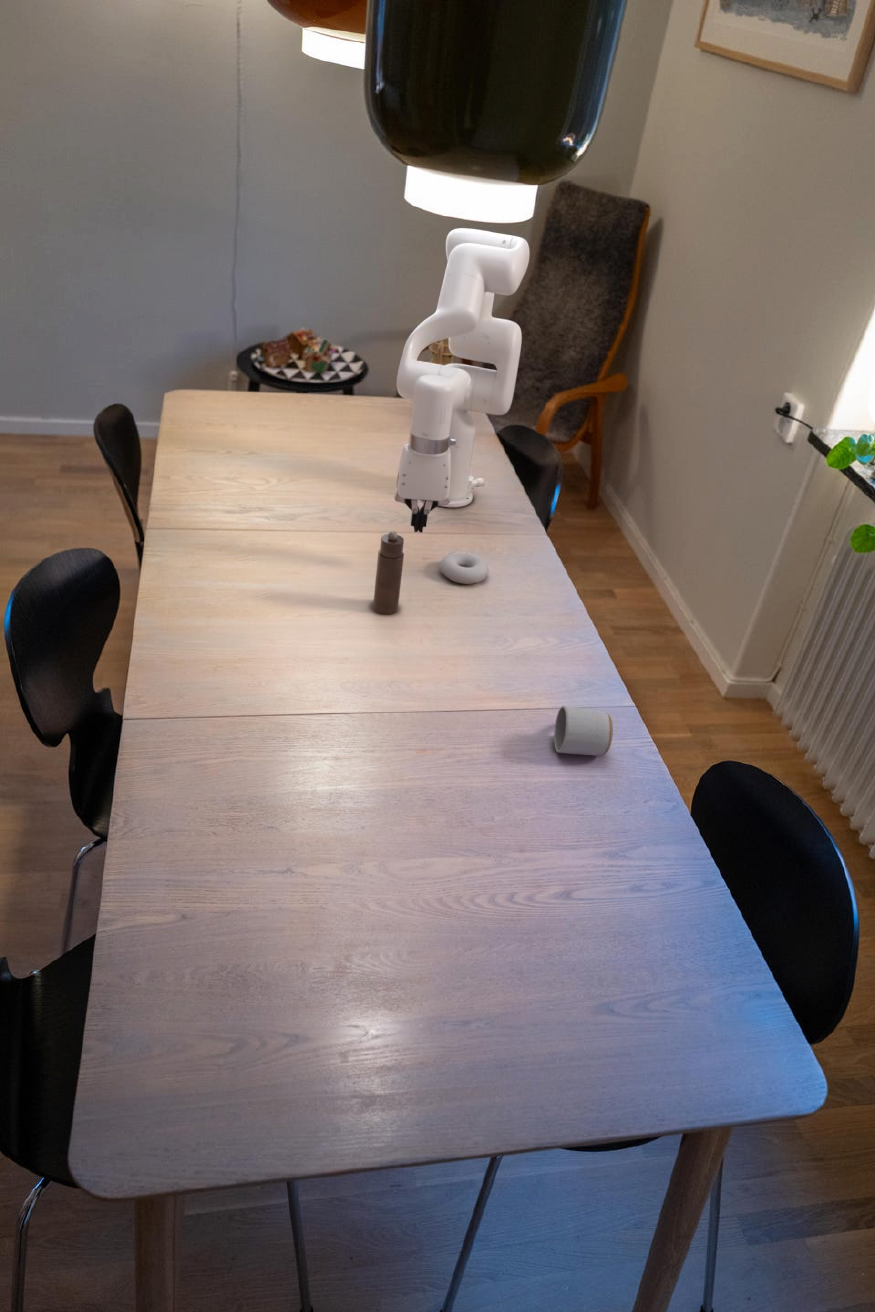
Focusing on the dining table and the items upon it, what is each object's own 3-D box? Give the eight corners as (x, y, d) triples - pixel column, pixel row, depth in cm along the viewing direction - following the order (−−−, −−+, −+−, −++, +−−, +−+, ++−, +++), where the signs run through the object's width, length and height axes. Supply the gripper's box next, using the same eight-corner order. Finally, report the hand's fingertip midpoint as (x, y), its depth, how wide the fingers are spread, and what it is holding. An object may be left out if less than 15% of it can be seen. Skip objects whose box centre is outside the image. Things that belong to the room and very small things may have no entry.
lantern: (413, 403, 289) (424, 296, 272) (448, 405, 291) (462, 299, 274) (420, 422, 276) (432, 312, 260) (457, 424, 278) (471, 315, 262)
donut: (485, 590, 203) (488, 566, 211) (488, 576, 201) (490, 552, 210) (437, 583, 203) (441, 559, 212) (439, 568, 201) (443, 545, 210)
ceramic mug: (608, 765, 160) (618, 727, 156) (558, 762, 160) (567, 724, 155) (595, 725, 169) (605, 688, 165) (548, 722, 168) (556, 685, 164)
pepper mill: (389, 599, 196) (397, 523, 186) (402, 611, 192) (411, 535, 183) (368, 604, 193) (375, 528, 184) (381, 616, 190) (388, 539, 181)
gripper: (464, 438, 194) (452, 523, 204) (388, 431, 192) (379, 518, 202) (469, 452, 188) (456, 540, 198) (390, 446, 186) (381, 535, 196)
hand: (417, 529), depth 200 cm, fingers closed
